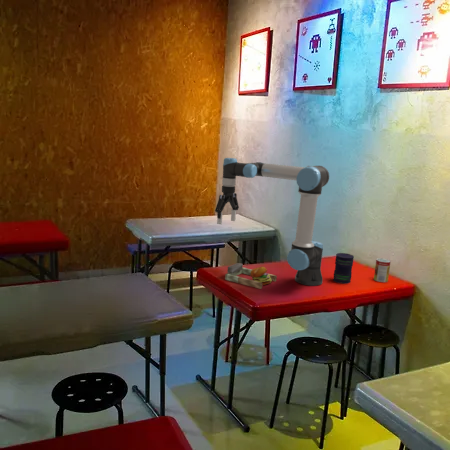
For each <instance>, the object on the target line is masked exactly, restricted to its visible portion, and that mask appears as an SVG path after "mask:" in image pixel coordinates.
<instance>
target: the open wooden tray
mask: <svg viewBox="0 0 450 450" xmlns="http://www.w3.org/2000/svg"><path fill="white" fill-rule="evenodd" d="M252 269H253V268H252ZM252 269H251V268H247V267H244V266H243V263H242V262H241V263H240V262H236V263H234V264H232V265H229V266H228V267H227V273H225V276H224V279H225V280H226V281H229V282H233V283H237V284H241V285H243V286H248V287H253V288H255V289H260V290H262V289H263V285H262V283H261V282H257V281H254V280H253V279H249V278H246V277H242V276H239V275H241V274H244V275H248V276H251V275H250V274H251V270H252ZM266 273H267V272H266ZM267 274H268V275H270V278H271V282H277V275H275V274H272V273H267Z"/></svg>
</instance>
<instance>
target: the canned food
mask: <svg viewBox="0 0 450 450" xmlns="http://www.w3.org/2000/svg"><path fill="white" fill-rule="evenodd" d="M390 268H391V260H390V259H388V258H383V257H382V258H380V257H379V258H376V259H375V267H374V274H373V280H374V281H376V282H380V283H388V282H389V276H390V275H389V274H390Z"/></svg>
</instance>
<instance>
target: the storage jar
mask: <svg viewBox="0 0 450 450" xmlns="http://www.w3.org/2000/svg"><path fill="white" fill-rule="evenodd" d="M354 257H355V256H354V255H353V254H350V253H344V252H338V253H336V255H335V260H334V261H335V262H334V264H335V267H334V270H333V272H334V273H333V279H332V280H333V282H335V283H338V284H342V285H343V284H345V285H346V284H351V282H352V281H351V280H352V273H353V272H352V270H353V269H352V268H353V265H354Z"/></svg>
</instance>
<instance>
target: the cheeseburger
mask: <svg viewBox="0 0 450 450" xmlns="http://www.w3.org/2000/svg"><path fill="white" fill-rule="evenodd" d="M267 272H268V269H267V268H266V267H265V266H259V267H255V268H252V270H251V274H250V275H249V276H250V277H252V278H251V280H253V281H257V282H261V283H262V286H265V285H269V284H271V283H272V281H271V278H270V275H268V274H269V273H268V274H267Z"/></svg>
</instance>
